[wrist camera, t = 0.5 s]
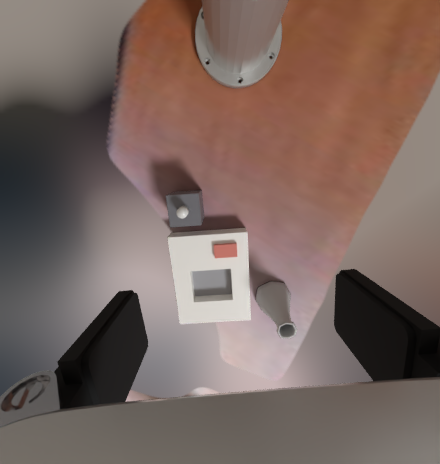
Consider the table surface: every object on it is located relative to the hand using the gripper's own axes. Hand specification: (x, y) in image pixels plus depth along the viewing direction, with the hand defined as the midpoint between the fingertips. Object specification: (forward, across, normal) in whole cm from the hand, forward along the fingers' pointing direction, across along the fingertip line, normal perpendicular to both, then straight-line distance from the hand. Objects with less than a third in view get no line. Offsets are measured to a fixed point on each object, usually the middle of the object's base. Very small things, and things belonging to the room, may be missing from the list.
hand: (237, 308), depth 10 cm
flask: (+31, -8, +19) cm, 37 cm away
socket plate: (+30, +4, +12) cm, 33 cm away
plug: (+30, +6, -2) cm, 31 cm away
